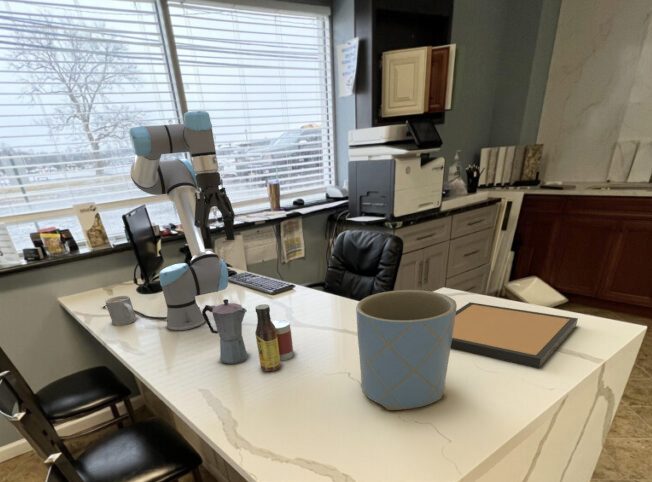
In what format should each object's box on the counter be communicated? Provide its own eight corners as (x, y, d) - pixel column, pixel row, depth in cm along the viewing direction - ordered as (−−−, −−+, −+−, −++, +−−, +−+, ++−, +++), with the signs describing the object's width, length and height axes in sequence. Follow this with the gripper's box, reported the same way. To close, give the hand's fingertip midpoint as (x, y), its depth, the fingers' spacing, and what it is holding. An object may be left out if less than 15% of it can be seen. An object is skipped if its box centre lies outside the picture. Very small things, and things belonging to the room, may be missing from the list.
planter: (466, 401, 100) (478, 309, 88) (381, 423, 96) (382, 329, 83) (418, 364, 119) (423, 284, 107) (345, 381, 114) (342, 299, 102)
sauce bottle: (261, 364, 129) (251, 303, 119) (280, 362, 129) (272, 301, 119) (261, 374, 123) (250, 310, 113) (281, 371, 123) (273, 308, 113)
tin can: (269, 359, 132) (264, 327, 126) (278, 350, 137) (273, 319, 131) (288, 361, 129) (284, 328, 124) (296, 352, 135) (293, 320, 129)
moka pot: (250, 365, 129) (239, 303, 119) (205, 364, 133) (191, 305, 122) (259, 352, 137) (249, 294, 127) (216, 352, 140) (204, 295, 130)
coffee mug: (109, 322, 181) (101, 300, 175) (131, 315, 186) (124, 294, 181) (121, 328, 172) (113, 305, 167) (143, 321, 177) (136, 299, 172)
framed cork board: (538, 368, 111) (575, 326, 132) (541, 358, 109) (578, 318, 130) (421, 341, 133) (468, 309, 154) (421, 333, 131) (469, 302, 152)
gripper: (193, 174, 115) (208, 252, 126) (237, 168, 134) (248, 236, 145) (171, 176, 118) (188, 252, 129) (218, 170, 137) (230, 236, 148)
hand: (220, 244), depth 137 cm, fingers open, 13 cm apart
